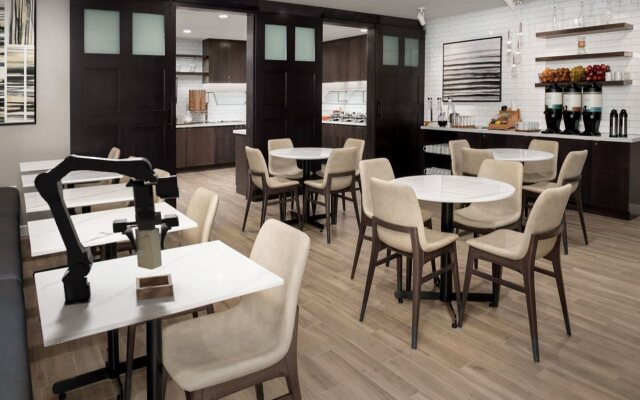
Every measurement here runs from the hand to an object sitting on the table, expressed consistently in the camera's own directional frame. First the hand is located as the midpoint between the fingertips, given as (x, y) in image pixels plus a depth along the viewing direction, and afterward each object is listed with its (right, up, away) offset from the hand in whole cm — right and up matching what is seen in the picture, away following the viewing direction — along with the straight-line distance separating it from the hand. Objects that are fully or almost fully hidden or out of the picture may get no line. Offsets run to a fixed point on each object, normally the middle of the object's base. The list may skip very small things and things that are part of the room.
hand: (148, 250), depth 160 cm
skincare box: (0, -5, +1) cm, 5 cm away
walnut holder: (+1, -13, +3) cm, 13 cm away
